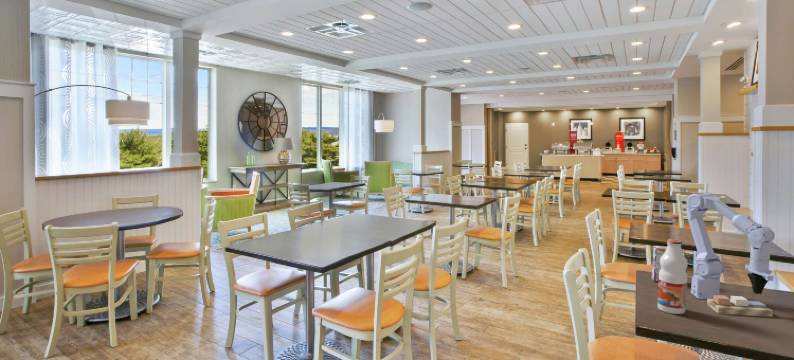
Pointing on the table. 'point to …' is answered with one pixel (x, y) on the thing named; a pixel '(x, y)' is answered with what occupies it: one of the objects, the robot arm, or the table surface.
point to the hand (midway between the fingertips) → (757, 293)
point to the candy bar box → (657, 261)
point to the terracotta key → (721, 300)
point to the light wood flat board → (739, 309)
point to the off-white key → (739, 301)
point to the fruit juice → (672, 279)
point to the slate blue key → (756, 304)
